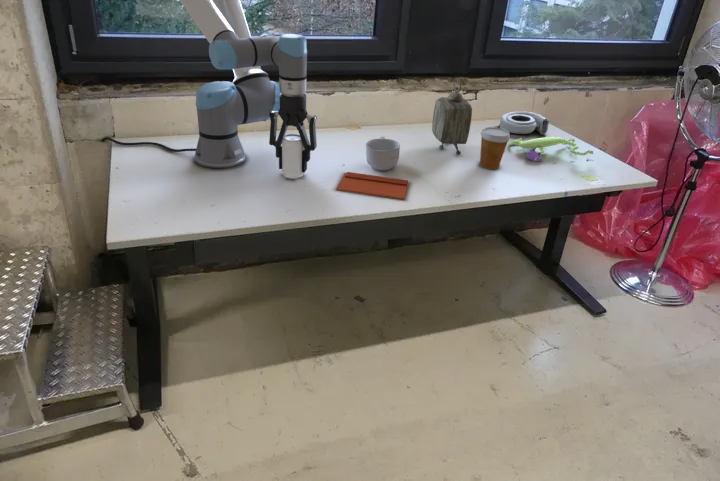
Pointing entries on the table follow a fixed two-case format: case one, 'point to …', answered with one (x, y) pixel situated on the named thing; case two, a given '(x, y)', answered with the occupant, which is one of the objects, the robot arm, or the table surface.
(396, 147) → the teacup
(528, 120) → the turbocharger housing
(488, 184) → the table surface
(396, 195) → the orange envelope wallet
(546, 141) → the figurine
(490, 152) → the disposable coffee cup
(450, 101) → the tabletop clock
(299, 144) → the can
